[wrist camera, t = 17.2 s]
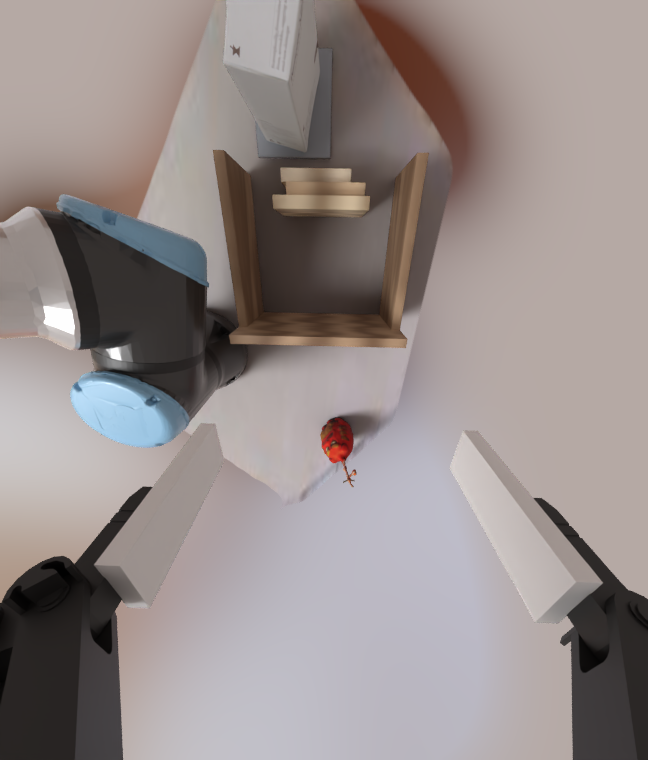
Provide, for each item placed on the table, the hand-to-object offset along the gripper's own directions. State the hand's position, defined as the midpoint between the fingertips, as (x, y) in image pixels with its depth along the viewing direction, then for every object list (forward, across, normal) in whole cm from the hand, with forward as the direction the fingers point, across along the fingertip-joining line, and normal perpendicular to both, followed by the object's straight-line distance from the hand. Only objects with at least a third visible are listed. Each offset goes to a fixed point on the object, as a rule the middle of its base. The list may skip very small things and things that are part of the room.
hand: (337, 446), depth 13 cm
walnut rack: (+35, +2, -8) cm, 36 cm away
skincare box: (+34, +6, -26) cm, 44 cm away
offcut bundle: (+35, +2, -16) cm, 39 cm away
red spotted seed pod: (+35, -2, +27) cm, 44 cm away
